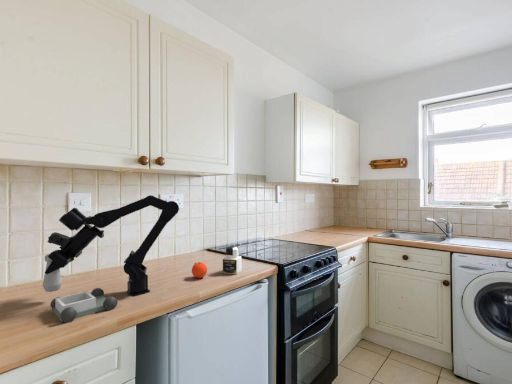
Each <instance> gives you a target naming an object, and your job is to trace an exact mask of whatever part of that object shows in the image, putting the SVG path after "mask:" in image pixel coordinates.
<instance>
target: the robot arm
mask: <svg viewBox="0 0 512 384" xmlns="http://www.w3.org/2000/svg"><path fill="white" fill-rule="evenodd" d="M150 206H151V207H153V208H156V209H159V210H160V211H161V212H160V214H159V216H158V219H157V220H156V222H155V223H154V225H153V226H152V228H151V229H150V231H149V232H148V234H147V235H146V237H145V239H144V240H143V241H142V243H141V244H140V246H139V247H138V248H137V249H136V250H135V251H134V250H131V251H129V255H128V256H127V257H126V258H125V259H124V261H123V271H124V273H125V274H126V275H128V281H127V291H126V293H128V294H130V295H131V296H138V295H142V294H146V293H150V292H151V290H150V289H149V282H148V281H149V279H148V278H149V275H148V274H147V269H148V267H146V265H144V264H143V262H144V261H145V258H146V256H147V254H148V252H149V250H150V249H151V248H152V246H153V245H154V243H155V242H156V240H157V238H158V237H159V235H160V234H161V233H162V231H164V228H165V226H167V224H168V223H169V222H170V221H172V219H174V217H175V216H176V215H178V213H179V211H180V207H179V204H178V203H177V202H176V201H174V200H169V201H167V200H164V199H161V198H160V197H156V196H154V195H151V194H149V195H147V196H146V197H143V198H141V199H138V200H136V201H133V202H130V203H128V204H126V205H123V206H121V207H118V208H114V209H109V210H105V211H101V212H98V213H95V214H94V215H90V216H86V215H85V214H83V213H82V212H81V211H80V210H79V209H78V208H77V207H73V208H71V210H69V211H68V212H66V213H64V214H63V215H62V216H61V217H60V218H59V219H58V221H59V222H60V223H61V224H63V225H64V226H65V227H66V228H68V230H69V231H77V233H75V234H74V235H72V236H68V235H66V234H62V233H60V232H57V231H56V232H52V233H51V234H50V236H48V239H47V243H49V244H53V245H56V246H59V249H55V250H53V251H52V252H50V253H48V254H49V255H48V258H50V259H51V260H52V262H51V263H50V265H49V267H48V268H47V270H46V269H45V270H46V271H45V270H44V274H45V273H46V274H49V273H51V272H53V271H55V270H58V269H62V268H63V269H64V268H65V267H66V266H67V265H69V264H70V263H71V262H73V261H74V260H75V258H79V257H80V256H81V254H83V250H84V249H85V248H87V247H88V246H89V244H91V242H92V241H94V240H95V238H97V237H99V238H100V239H102V238H104V237H105V230H104V228H106V227H108V226H110V225H111V224H112V223H113V224H114V223H115V222H116V221H118V220H119V219H121V218H124V217H126V216H128V215H130V214H132V213H135V212H138V211H140V210H143V209H145V208H147V207H150ZM92 225H93V226H92ZM102 229H103V230H102ZM78 230H79V231H78Z"/></svg>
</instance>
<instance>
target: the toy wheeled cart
mask: <svg viewBox="0 0 512 384" xmlns="http://www.w3.org/2000/svg"><path fill="white" fill-rule="evenodd" d="M49 305H50V309H52V310H53V314H54V315H56V317H57V318H58V319H59V321H60V322H61V323H70V322H73V321H74V320H75V319H78V318H82V317H85V316H89V315H92V314H95V313H98V312H103V311H105V310H106V311H111V310H114V309H115V308H116V307H117V305H118V299H117V298H116V297H114V296H108V297H107V296H105V291H104V290H103V289H102V288H100V287H95V288H93V289H92V291H91V292H89V291H87V290H85V291H82V292H78V293H73V294H69V295H64V296H58V297H55V298H53V299H52V300H51V301H50V304H49Z"/></svg>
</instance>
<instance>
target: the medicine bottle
mask: <svg viewBox="0 0 512 384" xmlns="http://www.w3.org/2000/svg"><path fill="white" fill-rule="evenodd" d="M242 268H243V267H242V256H241V255H239V248H238V247H237V246H227V247H226V248H225V257H223V258H222V273H223V274H228V275H237V274H239V273H241V271H242V270H243V269H242Z"/></svg>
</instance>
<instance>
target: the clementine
mask: <svg viewBox="0 0 512 384" xmlns="http://www.w3.org/2000/svg"><path fill="white" fill-rule="evenodd" d="M207 273H208V268H207V265H206V264H205V263H204V262H203V261H201V262H200V261H197V262H196V261H195V263H194V264H193V265H192V267H191V274H192V276H194V277H195V278H196V279H201V278H204V277H205V276H206V275H207Z"/></svg>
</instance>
